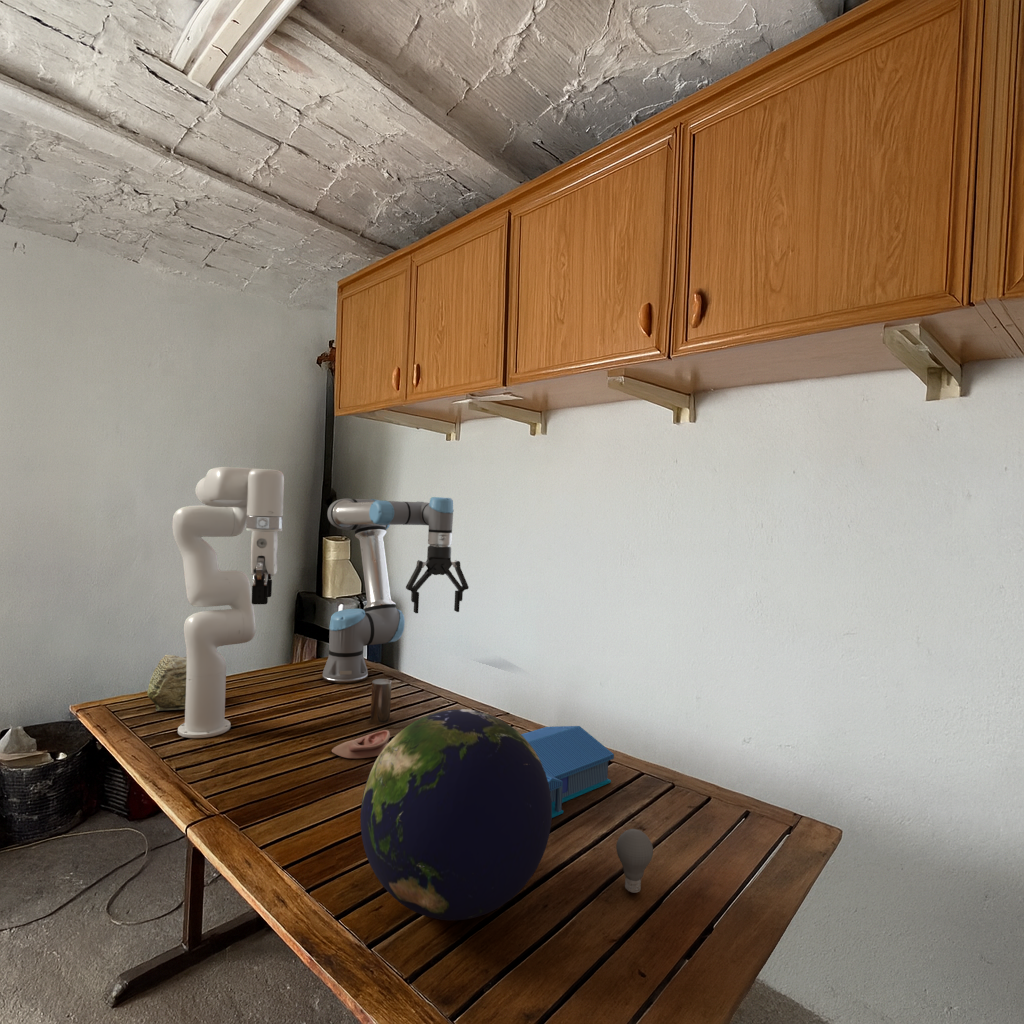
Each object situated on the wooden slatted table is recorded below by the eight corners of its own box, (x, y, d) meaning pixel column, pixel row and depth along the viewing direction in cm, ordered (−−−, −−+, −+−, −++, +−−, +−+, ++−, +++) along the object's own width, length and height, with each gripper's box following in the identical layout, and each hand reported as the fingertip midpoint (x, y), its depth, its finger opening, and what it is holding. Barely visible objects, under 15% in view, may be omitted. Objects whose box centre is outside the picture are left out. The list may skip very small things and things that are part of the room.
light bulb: (610, 879, 108) (613, 822, 108) (644, 879, 109) (647, 822, 109) (619, 902, 102) (622, 840, 102) (655, 901, 103) (658, 840, 103)
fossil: (144, 707, 182) (145, 655, 182) (212, 696, 194) (213, 647, 194) (151, 716, 175) (153, 662, 175) (221, 703, 188) (223, 653, 188)
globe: (314, 931, 92) (322, 727, 92) (419, 834, 120) (426, 677, 120) (503, 1000, 81) (513, 769, 81) (570, 876, 109) (578, 703, 108)
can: (374, 725, 177) (376, 685, 177) (367, 718, 181) (369, 680, 181) (392, 722, 180) (394, 682, 179) (385, 716, 184) (387, 677, 184)
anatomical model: (326, 739, 154) (347, 723, 165) (325, 755, 154) (346, 738, 166) (377, 746, 152) (395, 729, 163) (376, 762, 152) (394, 744, 163)
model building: (492, 844, 118) (494, 791, 118) (418, 795, 136) (419, 748, 136) (622, 787, 144) (624, 743, 144) (546, 752, 162) (547, 713, 162)
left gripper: (279, 526, 134) (276, 607, 135) (284, 523, 151) (282, 594, 151) (241, 525, 132) (238, 607, 133) (251, 521, 149) (248, 594, 149)
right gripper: (404, 546, 193) (401, 615, 194) (480, 547, 204) (477, 612, 204) (398, 544, 200) (395, 610, 201) (472, 545, 210) (469, 608, 211)
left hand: (261, 600), depth 142 cm, fingers open, 9 cm apart
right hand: (436, 611), depth 202 cm, fingers open, 13 cm apart
